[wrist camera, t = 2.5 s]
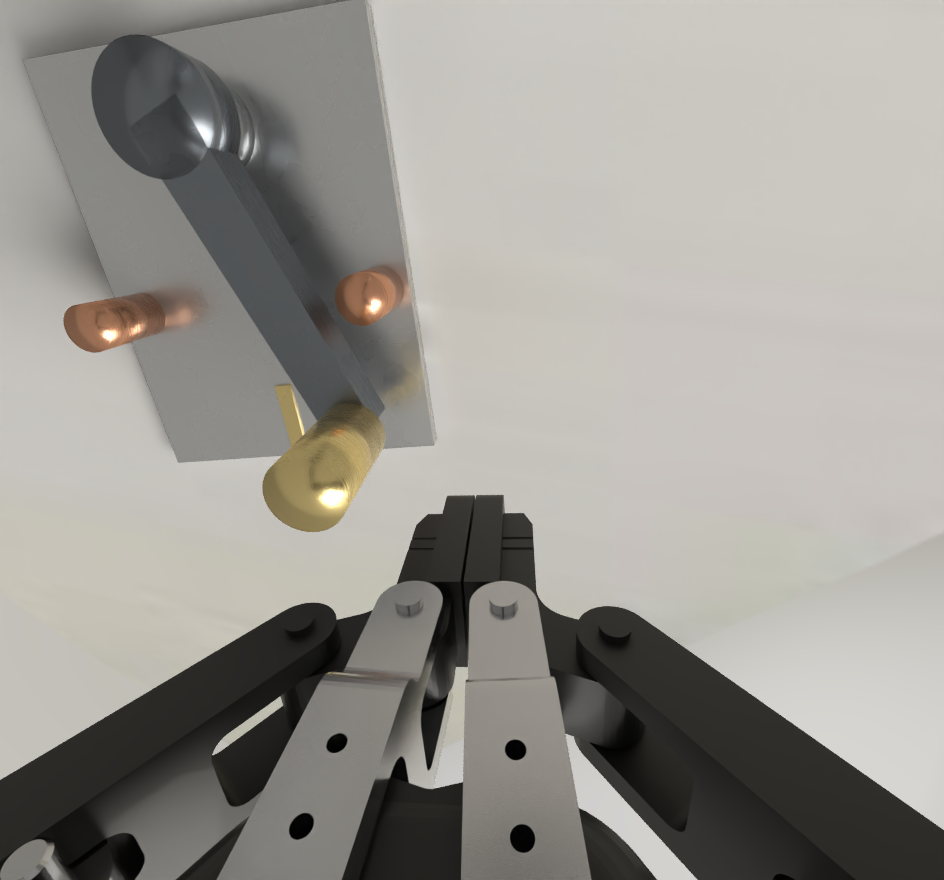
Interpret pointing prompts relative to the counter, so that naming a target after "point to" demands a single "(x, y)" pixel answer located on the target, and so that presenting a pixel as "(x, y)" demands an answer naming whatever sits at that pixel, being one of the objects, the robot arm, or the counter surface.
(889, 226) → the counter surface
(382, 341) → the crank base
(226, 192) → the crank lever
